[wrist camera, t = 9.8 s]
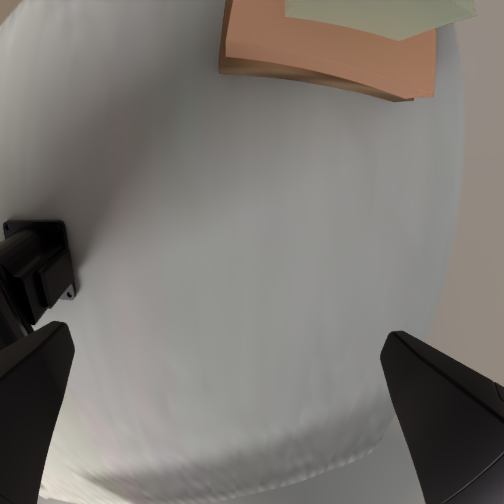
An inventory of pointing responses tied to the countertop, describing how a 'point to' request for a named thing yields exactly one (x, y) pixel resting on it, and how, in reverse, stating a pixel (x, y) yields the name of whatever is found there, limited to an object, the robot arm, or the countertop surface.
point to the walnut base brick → (289, 70)
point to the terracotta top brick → (332, 49)
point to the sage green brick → (383, 14)
